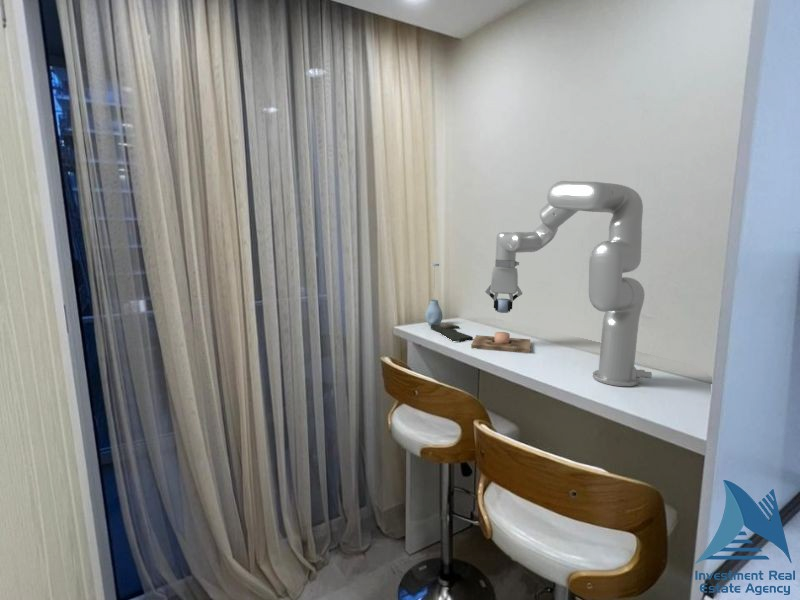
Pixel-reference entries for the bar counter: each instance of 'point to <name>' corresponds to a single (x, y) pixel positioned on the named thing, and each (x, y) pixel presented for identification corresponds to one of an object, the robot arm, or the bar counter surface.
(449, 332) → the firearm
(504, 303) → the blue-grey rounded cylinder
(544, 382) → the bar counter surface
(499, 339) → the tan rounded lump
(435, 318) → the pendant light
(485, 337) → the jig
